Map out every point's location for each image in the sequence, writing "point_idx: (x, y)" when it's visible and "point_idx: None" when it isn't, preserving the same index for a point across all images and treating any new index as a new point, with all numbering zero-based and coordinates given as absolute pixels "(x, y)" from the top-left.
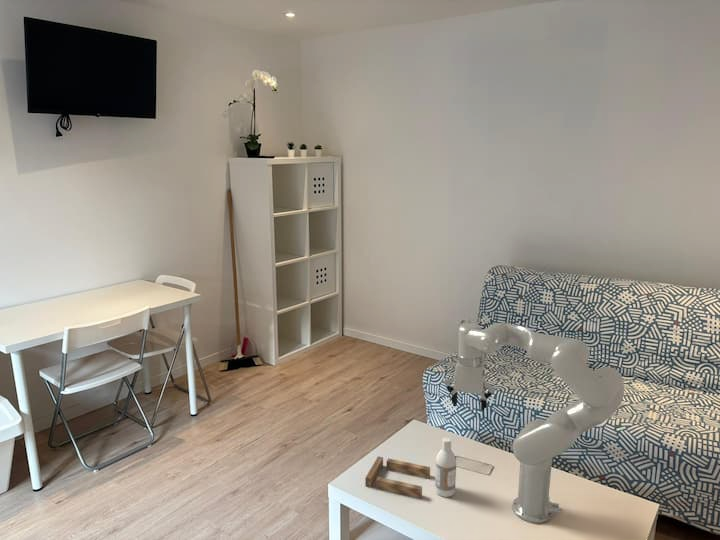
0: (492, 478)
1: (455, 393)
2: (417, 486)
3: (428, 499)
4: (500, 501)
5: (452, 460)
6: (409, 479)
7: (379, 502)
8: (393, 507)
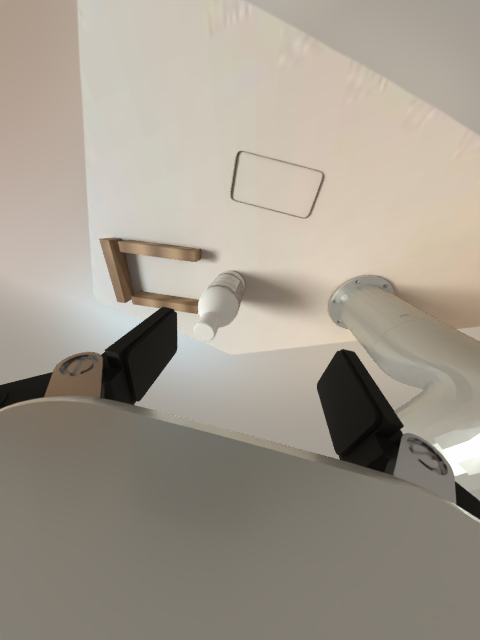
0: (311, 228)
1: (120, 398)
2: (190, 307)
3: None
4: (313, 291)
5: (230, 322)
6: (174, 267)
7: None
8: None
